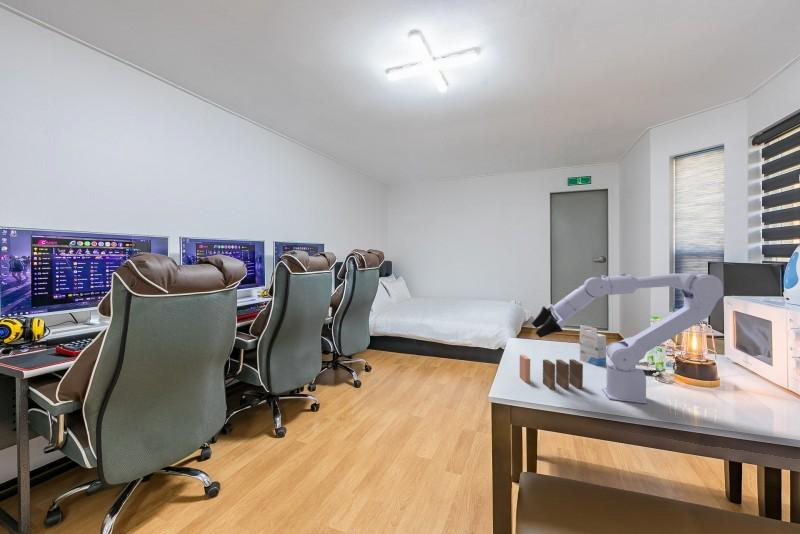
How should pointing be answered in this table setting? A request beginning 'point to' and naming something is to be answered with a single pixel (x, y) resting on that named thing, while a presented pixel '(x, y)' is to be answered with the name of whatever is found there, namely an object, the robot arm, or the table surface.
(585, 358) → the ink box
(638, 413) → the table surface
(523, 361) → the terracotta domino
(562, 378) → the walnut domino
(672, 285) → the robot arm
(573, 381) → the walnut domino
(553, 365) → the walnut domino
